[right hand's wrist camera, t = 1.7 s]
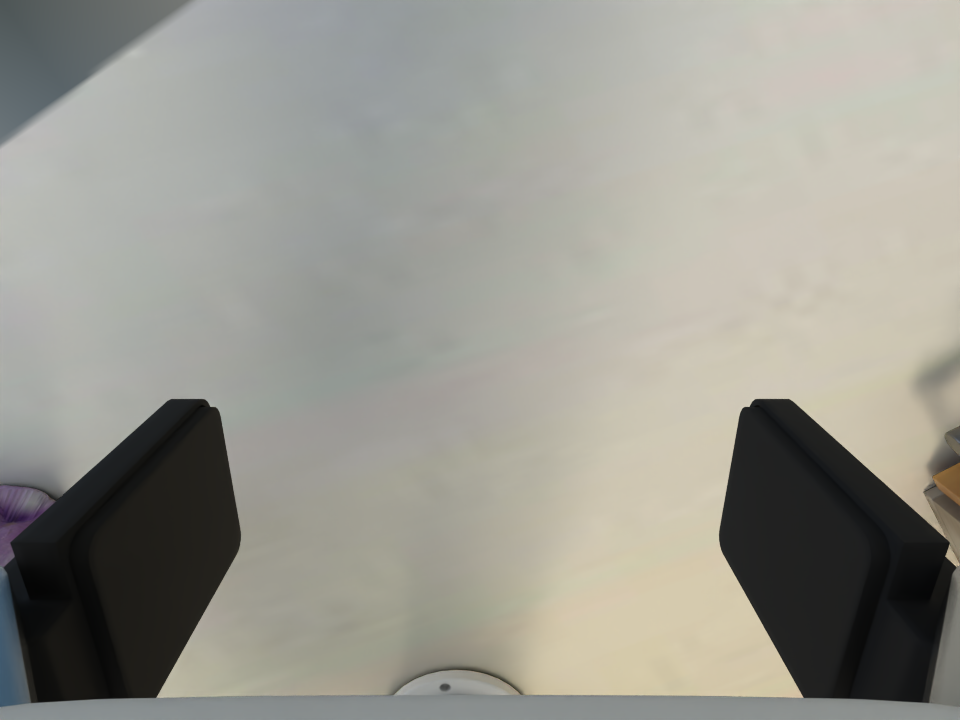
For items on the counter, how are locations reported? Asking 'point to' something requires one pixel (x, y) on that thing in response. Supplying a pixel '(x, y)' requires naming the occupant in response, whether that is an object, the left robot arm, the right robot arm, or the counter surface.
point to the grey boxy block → (946, 516)
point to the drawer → (951, 470)
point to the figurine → (18, 514)
